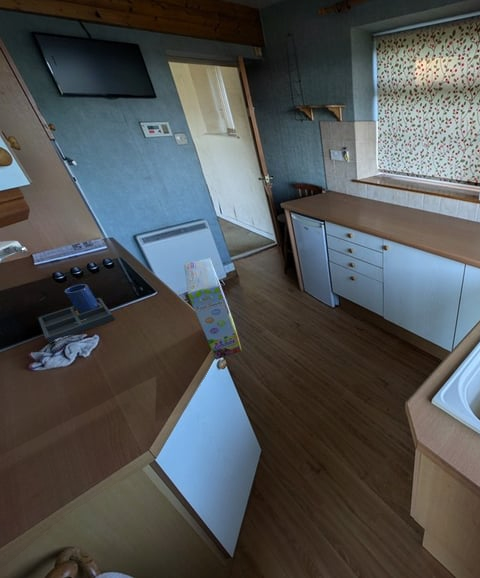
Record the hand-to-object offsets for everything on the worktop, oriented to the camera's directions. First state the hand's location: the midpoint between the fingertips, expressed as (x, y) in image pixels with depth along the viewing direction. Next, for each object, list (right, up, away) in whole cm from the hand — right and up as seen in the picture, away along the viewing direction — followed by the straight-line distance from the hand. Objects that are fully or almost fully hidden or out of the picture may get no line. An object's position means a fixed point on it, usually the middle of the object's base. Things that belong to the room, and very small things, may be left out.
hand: (12, 255), depth 99 cm
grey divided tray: (+12, -23, +10) cm, 28 cm away
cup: (+12, -20, +14) cm, 27 cm away
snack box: (+70, -29, +3) cm, 76 cm away
